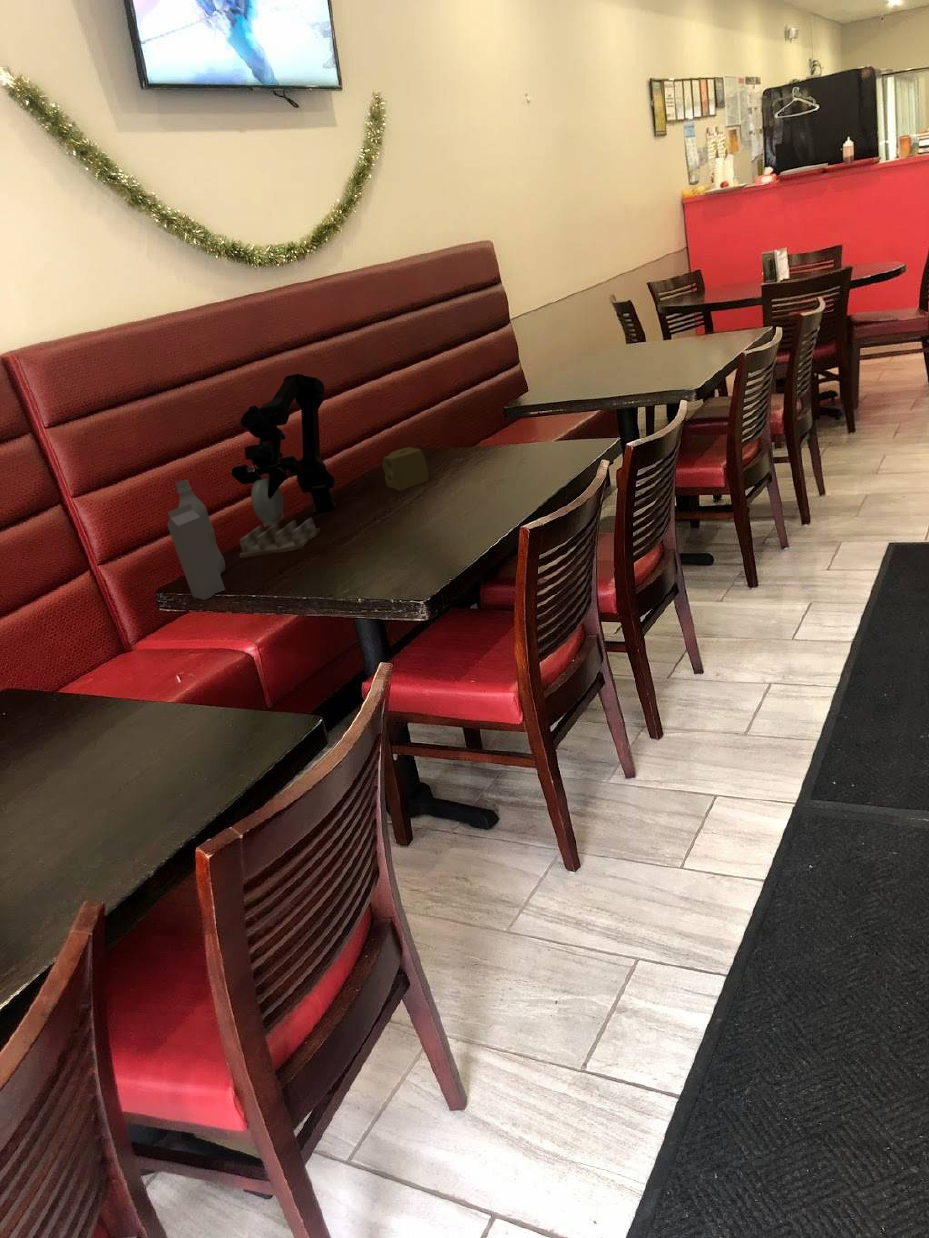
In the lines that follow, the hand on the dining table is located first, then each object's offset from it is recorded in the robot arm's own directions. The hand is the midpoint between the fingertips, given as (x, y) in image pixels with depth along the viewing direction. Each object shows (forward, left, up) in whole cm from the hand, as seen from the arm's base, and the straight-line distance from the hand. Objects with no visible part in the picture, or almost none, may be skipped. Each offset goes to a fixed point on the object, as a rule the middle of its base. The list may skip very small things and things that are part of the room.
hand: (264, 498), depth 260 cm
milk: (+30, -12, -14) cm, 35 cm away
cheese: (-38, +33, -14) cm, 53 cm away
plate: (-1, 0, -7) cm, 7 cm away
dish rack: (-1, 0, -13) cm, 13 cm away
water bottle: (+14, -15, -14) cm, 24 cm away
